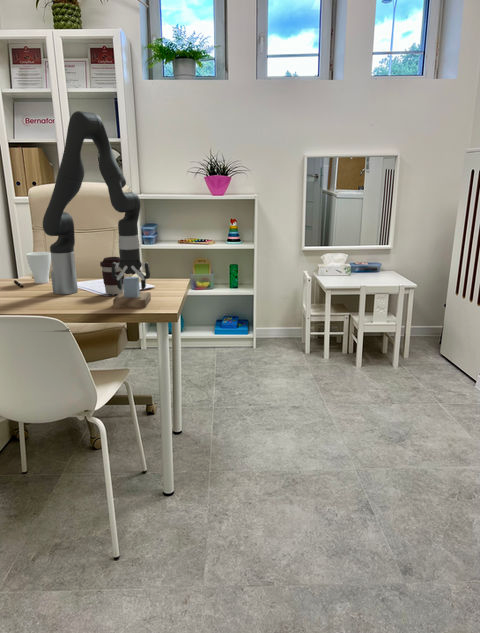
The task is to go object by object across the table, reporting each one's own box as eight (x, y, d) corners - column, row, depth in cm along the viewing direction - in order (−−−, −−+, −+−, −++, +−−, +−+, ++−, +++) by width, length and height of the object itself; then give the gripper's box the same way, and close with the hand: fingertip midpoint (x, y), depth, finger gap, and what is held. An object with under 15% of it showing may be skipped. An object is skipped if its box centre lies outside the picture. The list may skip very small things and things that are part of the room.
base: (113, 307, 180) (113, 299, 180) (120, 299, 192) (120, 292, 191) (145, 307, 181) (145, 299, 180) (150, 299, 192) (150, 292, 191)
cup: (45, 279, 230) (42, 251, 226) (58, 281, 224) (55, 253, 220) (25, 282, 222) (21, 253, 218) (38, 285, 216) (34, 256, 212)
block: (124, 297, 183) (123, 279, 181) (127, 294, 188) (126, 276, 186) (137, 297, 183) (136, 279, 181) (139, 294, 188) (138, 276, 186)
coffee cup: (105, 297, 196) (102, 260, 192) (100, 292, 204) (97, 257, 200) (129, 294, 200) (127, 258, 196) (123, 289, 209) (121, 255, 205)
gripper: (107, 248, 176) (111, 291, 181) (146, 248, 177) (148, 291, 181) (112, 245, 184) (115, 287, 188) (149, 245, 184) (152, 287, 188)
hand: (131, 289), depth 185 cm, fingers open, 8 cm apart
